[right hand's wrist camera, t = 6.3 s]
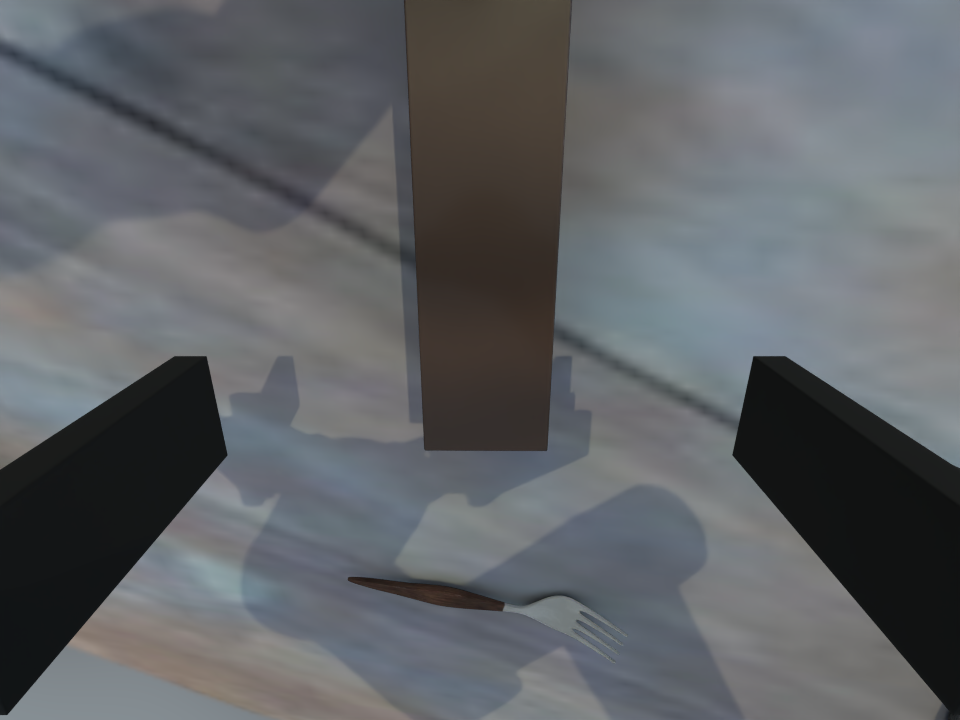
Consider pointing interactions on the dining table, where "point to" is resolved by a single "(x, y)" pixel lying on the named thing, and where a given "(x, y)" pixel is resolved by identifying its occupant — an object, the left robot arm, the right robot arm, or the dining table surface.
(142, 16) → the dining table surface
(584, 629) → the fork
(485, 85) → the walnut beam
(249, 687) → the dining table surface
